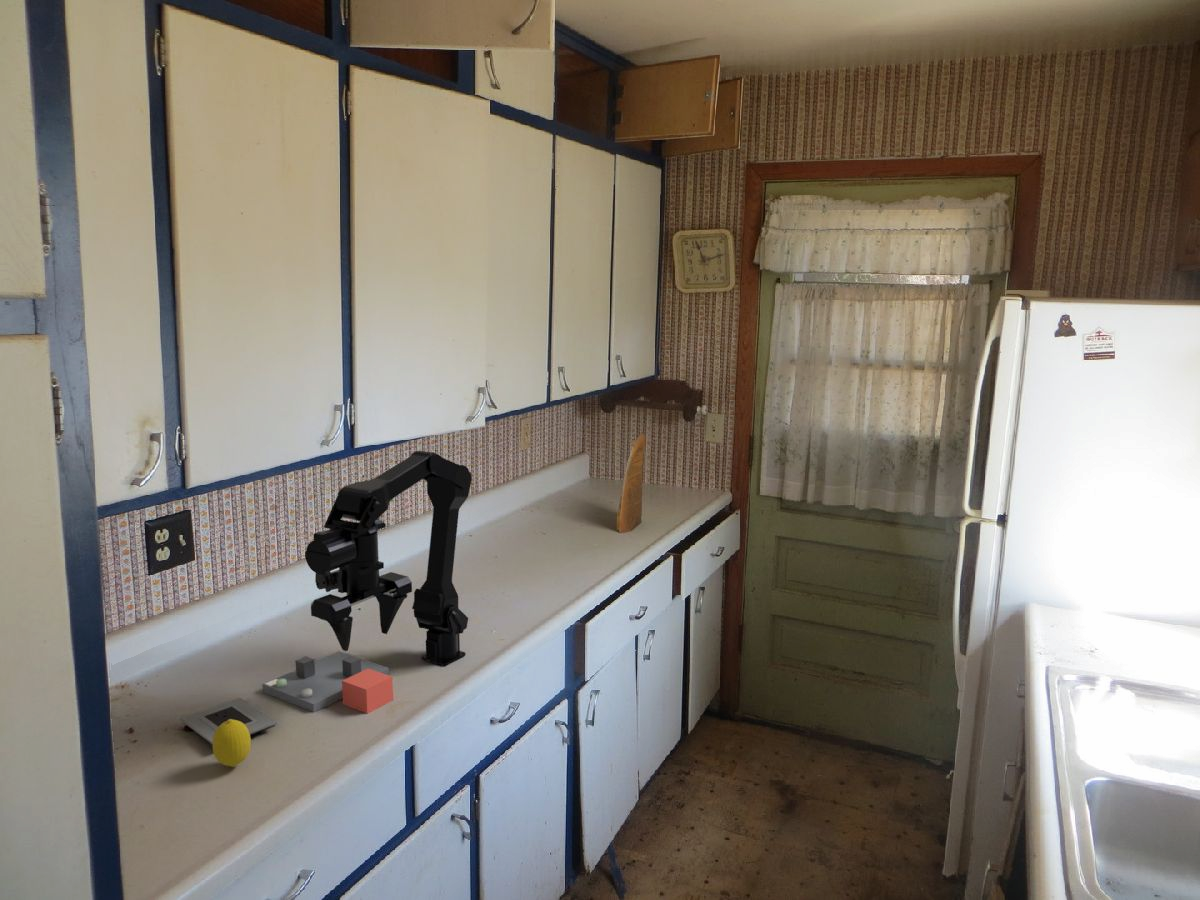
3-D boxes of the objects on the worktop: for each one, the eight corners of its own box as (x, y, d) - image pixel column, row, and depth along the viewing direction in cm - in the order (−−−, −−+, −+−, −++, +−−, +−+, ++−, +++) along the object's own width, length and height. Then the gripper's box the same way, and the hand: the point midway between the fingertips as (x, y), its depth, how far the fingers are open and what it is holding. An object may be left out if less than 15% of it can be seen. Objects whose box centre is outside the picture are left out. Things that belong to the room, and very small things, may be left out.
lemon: (207, 774, 140) (203, 726, 139) (227, 756, 145) (223, 709, 144) (240, 778, 139) (236, 729, 138) (259, 759, 145) (256, 712, 143)
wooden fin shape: (650, 519, 287) (652, 432, 281) (632, 535, 269) (633, 442, 264) (630, 517, 289) (631, 430, 283) (610, 533, 271) (611, 440, 266)
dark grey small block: (352, 670, 173) (352, 655, 173) (361, 673, 172) (360, 658, 171) (342, 674, 171) (342, 659, 171) (351, 678, 170) (351, 663, 169)
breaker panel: (339, 658, 182) (338, 646, 182) (389, 675, 175) (388, 663, 174) (262, 691, 168) (262, 679, 167) (313, 712, 160) (313, 698, 160)
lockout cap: (369, 691, 168) (368, 668, 167) (393, 699, 165) (392, 676, 164) (343, 704, 163) (341, 680, 162) (367, 713, 160) (366, 689, 159)
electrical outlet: (277, 733, 153) (277, 720, 153) (216, 757, 146) (215, 743, 145) (240, 708, 162) (239, 695, 162) (181, 729, 155) (180, 716, 154)
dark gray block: (306, 670, 173) (305, 656, 172) (315, 674, 171) (314, 659, 171) (296, 675, 171) (295, 660, 170) (304, 678, 170) (303, 663, 169)
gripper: (369, 537, 171) (373, 615, 174) (287, 563, 156) (292, 648, 159) (412, 547, 165) (415, 628, 168) (331, 575, 150) (335, 664, 153)
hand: (365, 641), depth 162 cm, fingers open, 9 cm apart
